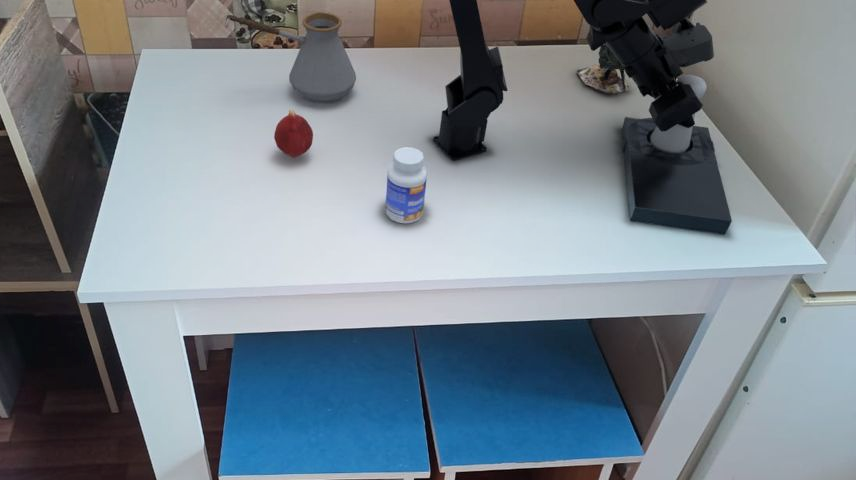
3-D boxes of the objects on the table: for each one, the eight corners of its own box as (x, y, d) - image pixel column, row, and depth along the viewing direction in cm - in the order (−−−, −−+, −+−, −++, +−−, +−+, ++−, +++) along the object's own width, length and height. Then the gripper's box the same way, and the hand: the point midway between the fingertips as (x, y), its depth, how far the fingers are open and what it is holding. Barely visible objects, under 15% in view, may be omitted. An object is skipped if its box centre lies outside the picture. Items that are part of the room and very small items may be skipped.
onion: (319, 151, 114) (319, 106, 109) (302, 171, 111) (301, 125, 105) (287, 142, 116) (284, 97, 110) (269, 161, 112) (265, 115, 107)
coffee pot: (348, 73, 132) (349, -10, 121) (362, 106, 124) (365, 21, 114) (229, 83, 128) (220, -1, 118) (236, 118, 121) (226, 31, 110)
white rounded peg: (685, 166, 114) (716, 92, 105) (647, 161, 114) (675, 87, 105) (681, 146, 118) (710, 72, 109) (644, 141, 119) (671, 67, 109)
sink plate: (726, 234, 102) (733, 221, 101) (628, 220, 104) (634, 207, 102) (702, 136, 120) (708, 123, 118) (619, 125, 122) (623, 112, 120)
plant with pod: (592, 102, 127) (624, -12, 113) (572, 70, 135) (600, -41, 121) (637, 101, 127) (675, -13, 113) (614, 69, 135) (647, -41, 121)
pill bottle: (411, 229, 101) (417, 172, 95) (377, 215, 103) (381, 158, 97) (429, 209, 105) (436, 152, 98) (396, 195, 107) (401, 139, 100)
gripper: (712, 42, 93) (763, 120, 101) (671, -18, 106) (719, 55, 114) (632, 95, 99) (686, 165, 106) (603, 31, 112) (653, 98, 120)
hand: (687, 118), depth 112 cm, fingers open, 4 cm apart
